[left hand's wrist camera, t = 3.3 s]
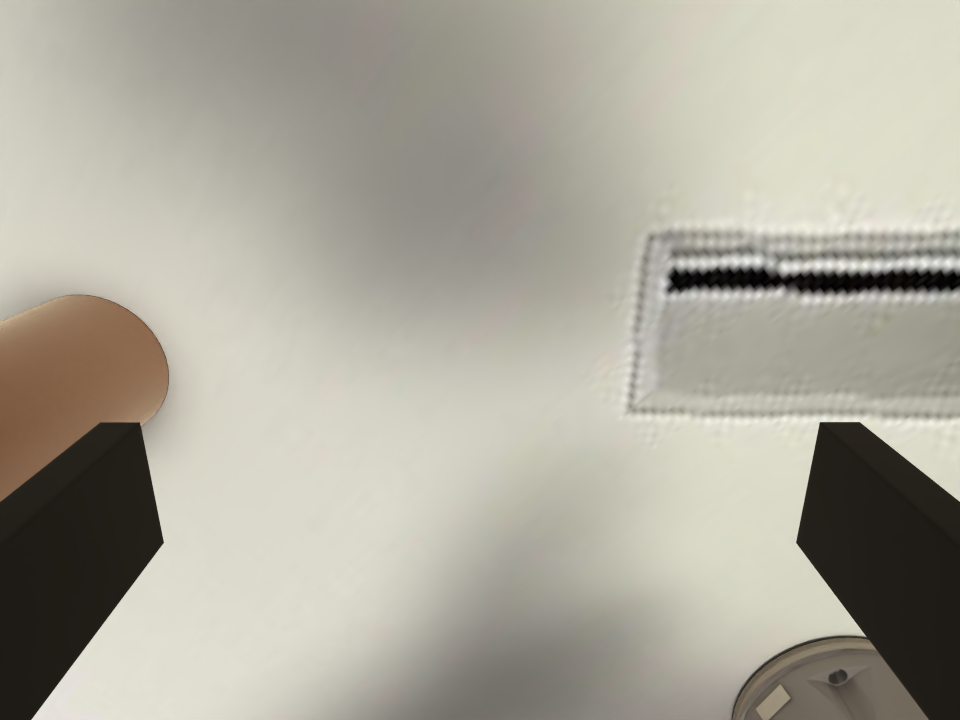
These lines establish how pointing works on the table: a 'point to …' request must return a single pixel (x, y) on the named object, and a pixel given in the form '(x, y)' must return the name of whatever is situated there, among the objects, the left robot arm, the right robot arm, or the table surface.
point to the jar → (71, 379)
